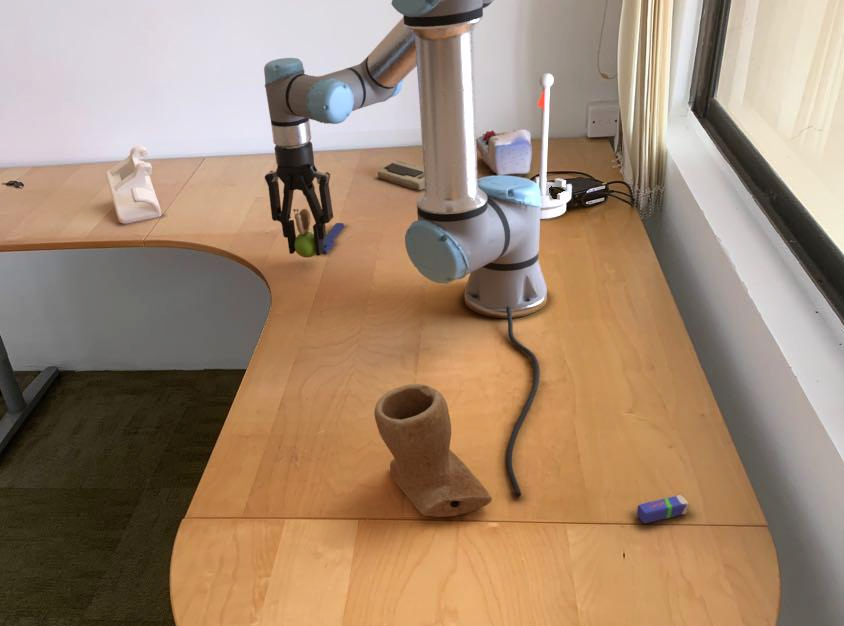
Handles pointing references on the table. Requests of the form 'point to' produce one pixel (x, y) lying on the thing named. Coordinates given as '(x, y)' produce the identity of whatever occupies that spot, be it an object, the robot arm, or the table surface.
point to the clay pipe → (426, 452)
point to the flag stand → (549, 204)
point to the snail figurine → (304, 235)
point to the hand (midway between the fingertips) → (306, 251)
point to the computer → (404, 174)
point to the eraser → (662, 509)
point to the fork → (331, 237)
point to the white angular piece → (133, 188)
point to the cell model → (506, 151)
